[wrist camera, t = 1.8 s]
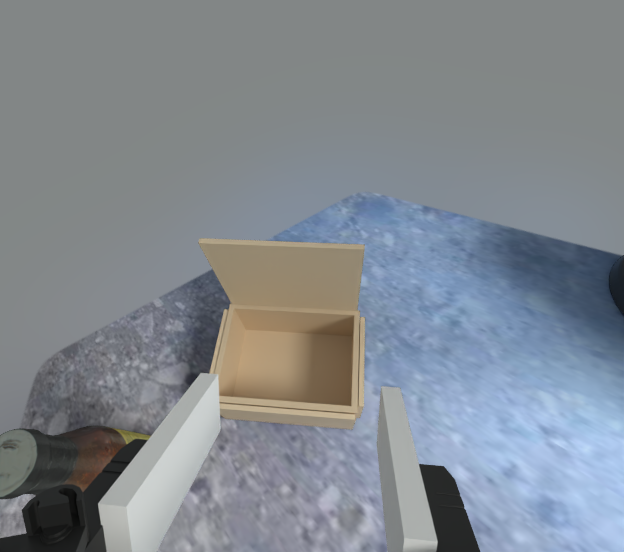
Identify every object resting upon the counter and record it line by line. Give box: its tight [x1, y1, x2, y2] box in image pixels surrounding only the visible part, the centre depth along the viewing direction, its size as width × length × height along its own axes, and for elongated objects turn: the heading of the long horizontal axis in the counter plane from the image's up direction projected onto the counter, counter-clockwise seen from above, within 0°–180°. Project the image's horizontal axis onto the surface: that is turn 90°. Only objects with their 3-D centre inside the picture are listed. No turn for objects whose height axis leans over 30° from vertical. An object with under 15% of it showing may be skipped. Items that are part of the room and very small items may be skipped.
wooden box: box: [209, 303, 365, 430], centre depth 42 cm, size 16×12×7 cm
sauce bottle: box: [0, 426, 151, 499], centre depth 32 cm, size 6×6×20 cm
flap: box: [198, 238, 365, 311], centre depth 36 cm, size 14×1×12 cm, turn 85°
